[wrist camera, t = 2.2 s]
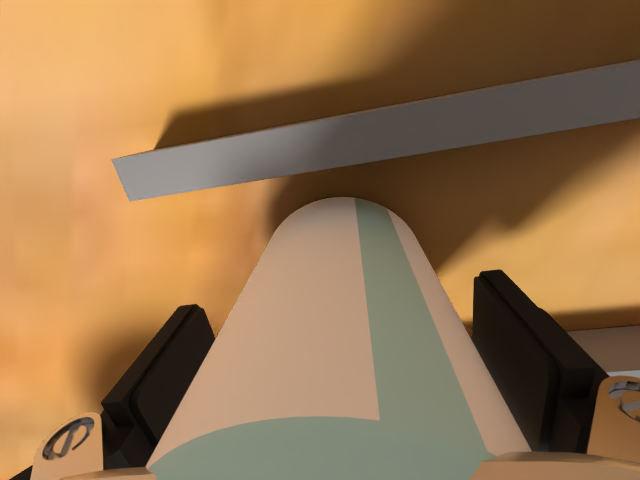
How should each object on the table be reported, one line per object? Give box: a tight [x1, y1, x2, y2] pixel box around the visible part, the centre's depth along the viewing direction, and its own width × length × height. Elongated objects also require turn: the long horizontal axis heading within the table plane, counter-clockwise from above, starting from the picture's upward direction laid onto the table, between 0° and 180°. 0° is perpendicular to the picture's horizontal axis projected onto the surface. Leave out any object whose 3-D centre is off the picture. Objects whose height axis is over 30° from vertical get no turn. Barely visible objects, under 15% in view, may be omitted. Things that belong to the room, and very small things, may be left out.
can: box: [146, 197, 531, 480], centre depth 9 cm, size 7×7×12 cm
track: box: [111, 59, 640, 378], centre depth 12 cm, size 24×13×3 cm, turn 100°
